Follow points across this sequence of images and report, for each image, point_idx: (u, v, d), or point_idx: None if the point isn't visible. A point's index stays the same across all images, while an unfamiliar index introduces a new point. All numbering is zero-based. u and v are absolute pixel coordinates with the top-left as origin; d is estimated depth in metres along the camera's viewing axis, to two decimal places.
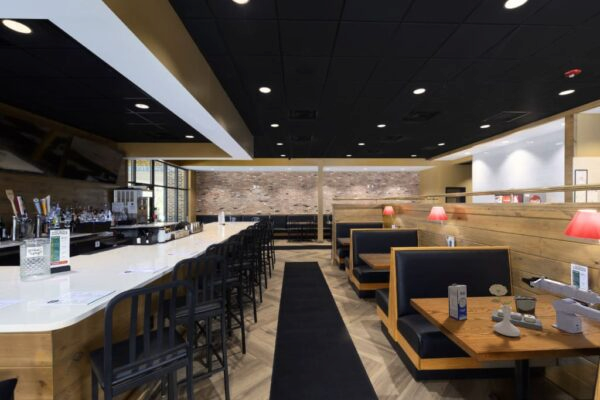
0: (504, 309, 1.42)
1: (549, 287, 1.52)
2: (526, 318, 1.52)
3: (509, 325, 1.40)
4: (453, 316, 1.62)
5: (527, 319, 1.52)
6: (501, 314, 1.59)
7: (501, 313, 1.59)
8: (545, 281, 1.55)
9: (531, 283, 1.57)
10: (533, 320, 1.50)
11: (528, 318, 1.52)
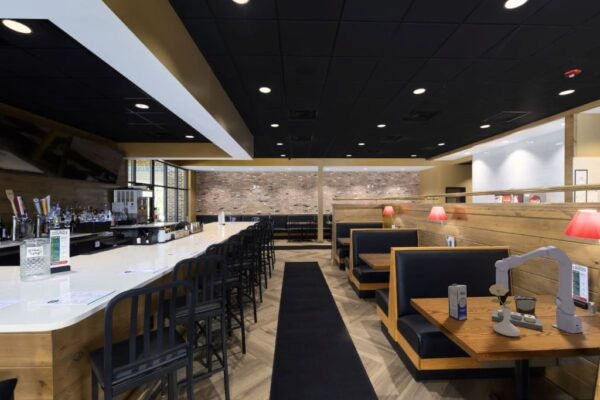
0: (504, 309, 1.42)
1: (503, 281, 1.58)
2: (526, 318, 1.52)
3: (509, 325, 1.40)
4: (453, 316, 1.62)
5: (527, 319, 1.52)
6: (501, 314, 1.59)
7: (501, 313, 1.59)
8: (497, 284, 1.60)
9: None
10: (533, 320, 1.50)
11: (528, 318, 1.52)
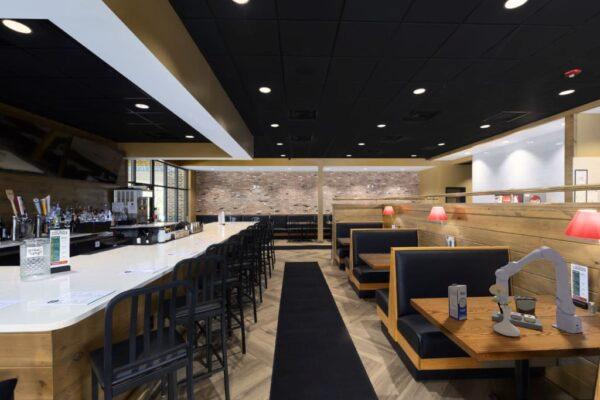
0: (504, 309, 1.42)
1: None
2: (526, 318, 1.52)
3: (509, 325, 1.40)
4: (453, 316, 1.62)
5: (527, 319, 1.52)
6: None
7: (501, 315, 1.59)
8: None
9: (501, 303, 1.55)
10: (533, 320, 1.50)
11: (528, 318, 1.52)
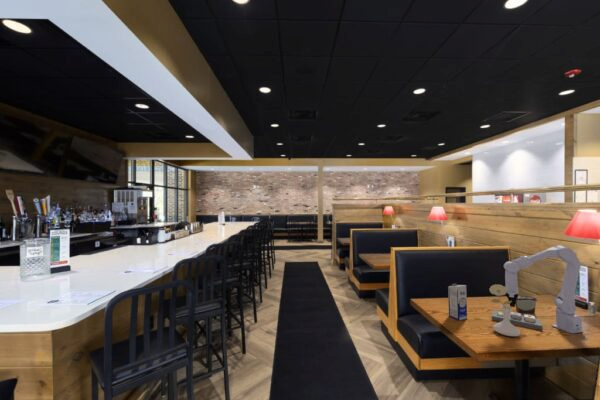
0: (504, 309, 1.42)
1: (513, 283, 1.55)
2: (526, 318, 1.52)
3: (509, 325, 1.40)
4: (453, 316, 1.62)
5: (527, 319, 1.52)
6: None
7: None
8: (507, 286, 1.58)
9: (511, 296, 1.52)
10: (533, 320, 1.50)
11: (528, 318, 1.52)
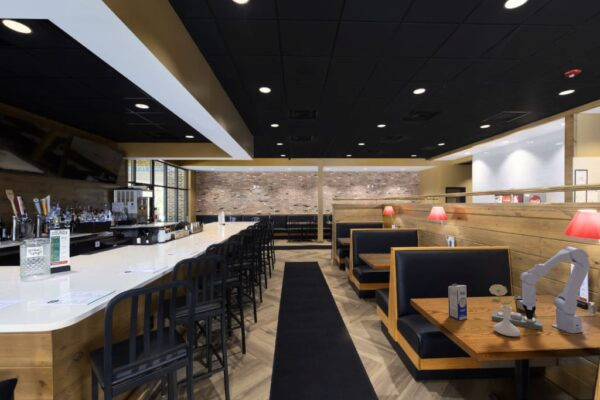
0: (504, 309, 1.42)
1: (532, 295, 1.50)
2: None
3: (509, 325, 1.40)
4: (453, 316, 1.62)
5: None
6: None
7: None
8: (524, 298, 1.53)
9: (529, 308, 1.48)
10: None
11: None
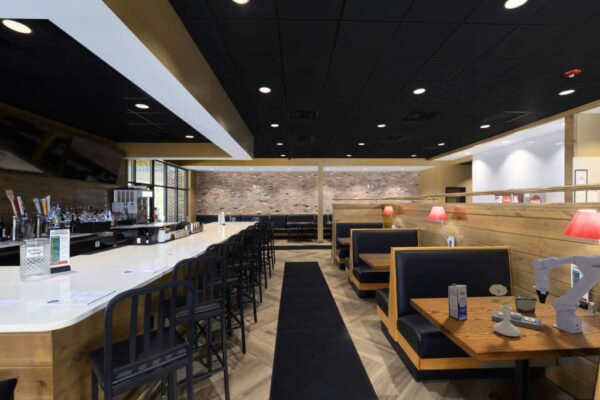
0: (504, 309, 1.42)
1: (538, 279, 1.59)
2: None
3: (509, 325, 1.40)
4: (453, 316, 1.62)
5: None
6: None
7: None
8: (537, 283, 1.60)
9: (542, 292, 1.54)
10: None
11: None
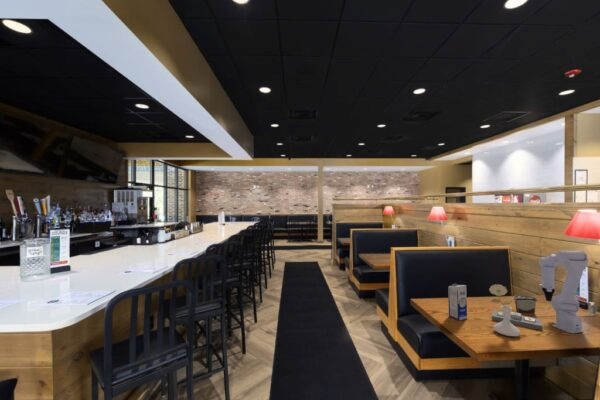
0: (504, 309, 1.42)
1: (542, 276, 1.63)
2: None
3: (509, 325, 1.40)
4: (453, 316, 1.62)
5: None
6: None
7: None
8: (543, 281, 1.63)
9: (548, 290, 1.57)
10: None
11: None
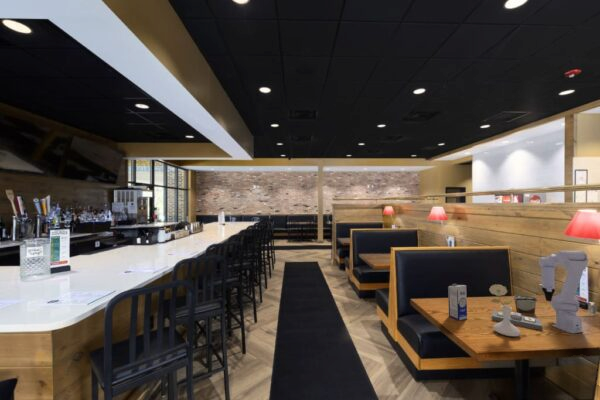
0: (504, 309, 1.42)
1: (542, 276, 1.63)
2: None
3: (509, 325, 1.40)
4: (453, 316, 1.62)
5: None
6: None
7: None
8: (543, 281, 1.63)
9: (548, 290, 1.57)
10: None
11: None
